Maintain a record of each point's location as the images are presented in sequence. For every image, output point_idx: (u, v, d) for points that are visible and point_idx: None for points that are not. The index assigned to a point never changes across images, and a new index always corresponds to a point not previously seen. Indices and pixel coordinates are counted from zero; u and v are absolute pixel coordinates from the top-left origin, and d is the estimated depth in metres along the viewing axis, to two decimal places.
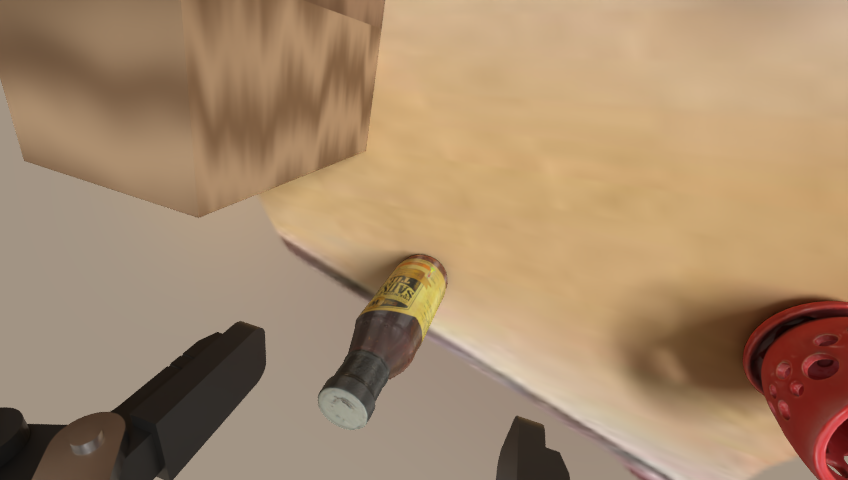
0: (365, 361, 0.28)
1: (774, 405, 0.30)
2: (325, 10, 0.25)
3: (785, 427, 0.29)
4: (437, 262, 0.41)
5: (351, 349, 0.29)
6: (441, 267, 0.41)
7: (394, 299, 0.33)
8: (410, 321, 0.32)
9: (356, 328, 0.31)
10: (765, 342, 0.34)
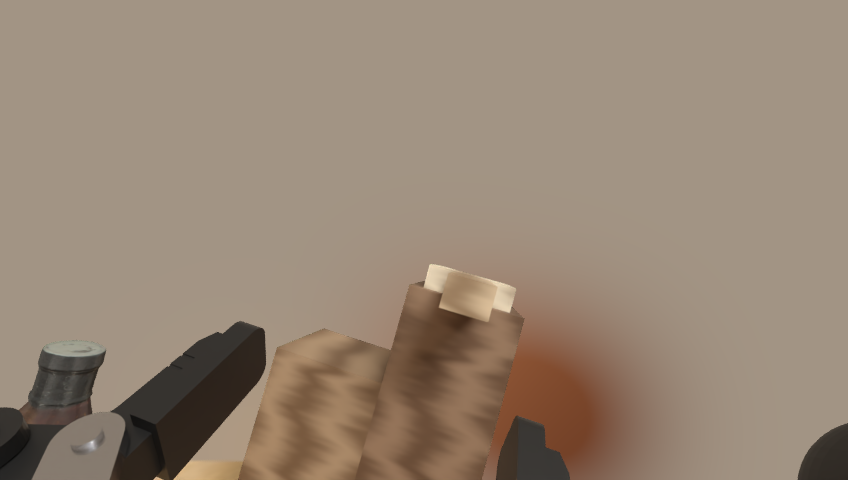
0: (81, 390, 0.30)
1: None
2: None
3: None
4: None
5: None
6: None
7: None
8: None
9: None
10: None
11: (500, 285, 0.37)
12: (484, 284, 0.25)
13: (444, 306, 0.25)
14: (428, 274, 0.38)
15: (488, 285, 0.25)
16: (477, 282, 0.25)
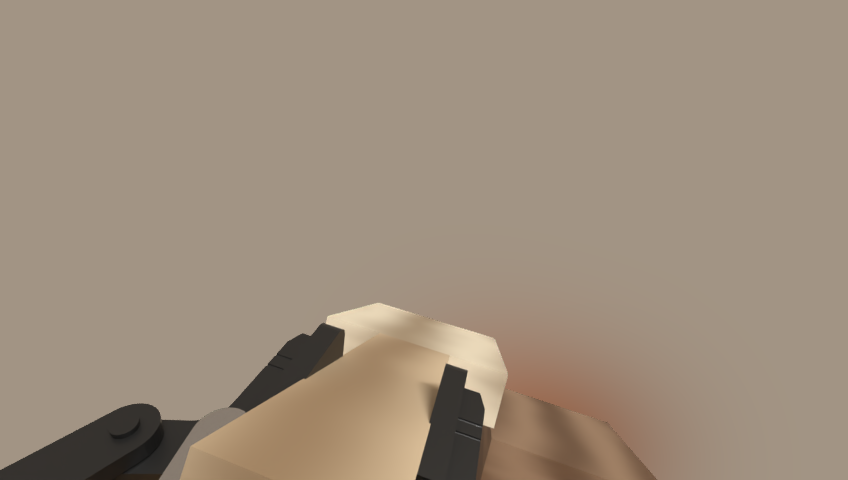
0: None
1: None
2: None
3: None
4: None
5: None
6: None
7: None
8: None
9: None
10: None
11: (473, 366, 0.17)
12: None
13: None
14: None
15: None
16: None
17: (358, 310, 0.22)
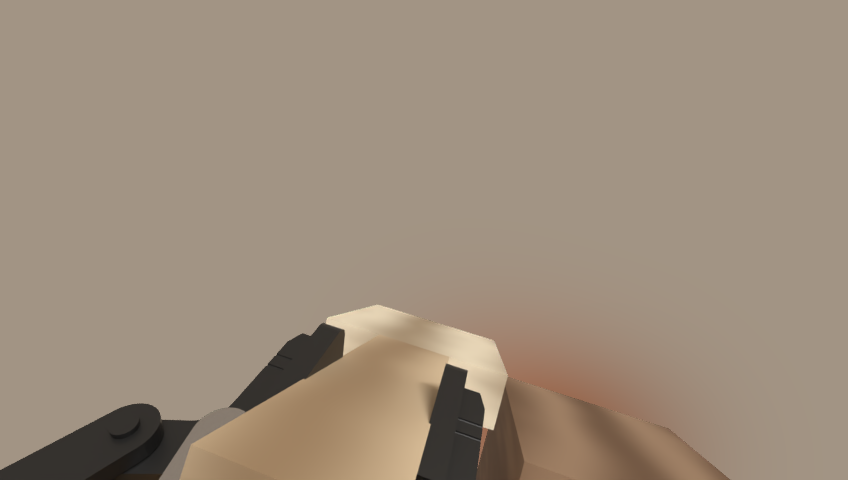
0: None
1: None
2: None
3: None
4: None
5: None
6: None
7: None
8: None
9: None
10: None
11: (473, 367, 0.17)
12: None
13: None
14: None
15: None
16: None
17: (358, 312, 0.22)
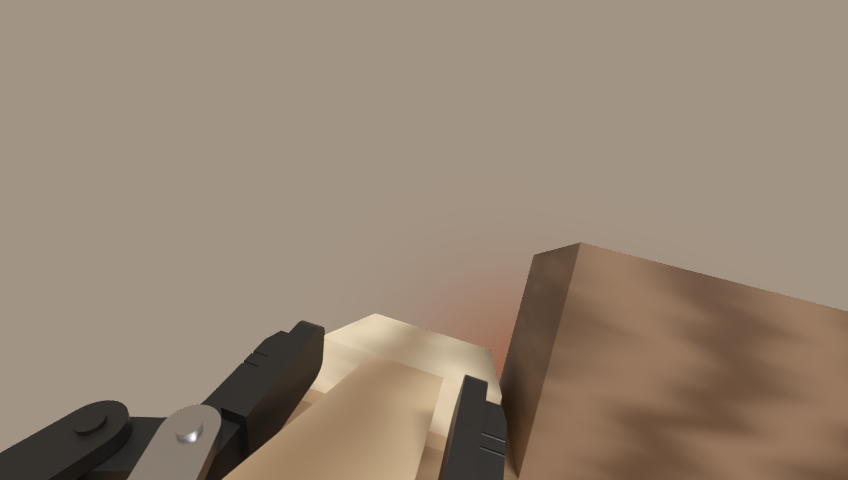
0: None
1: None
2: None
3: None
4: None
5: None
6: None
7: None
8: None
9: None
10: None
11: None
12: None
13: None
14: None
15: None
16: None
17: (353, 325, 0.22)
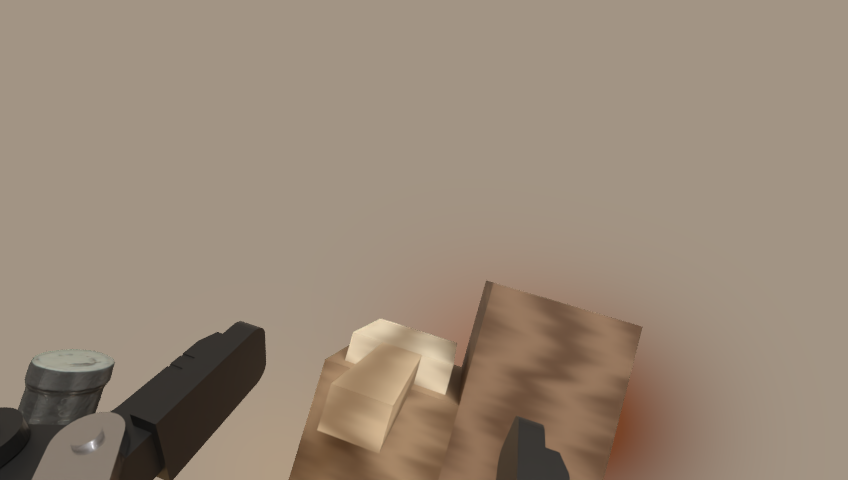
0: (81, 417, 0.23)
1: None
2: None
3: None
4: None
5: None
6: None
7: None
8: None
9: None
10: None
11: (434, 360, 0.31)
12: (376, 401, 0.19)
13: (324, 429, 0.19)
14: (351, 344, 0.32)
15: (381, 403, 0.19)
16: (367, 398, 0.19)
17: (369, 326, 0.36)
